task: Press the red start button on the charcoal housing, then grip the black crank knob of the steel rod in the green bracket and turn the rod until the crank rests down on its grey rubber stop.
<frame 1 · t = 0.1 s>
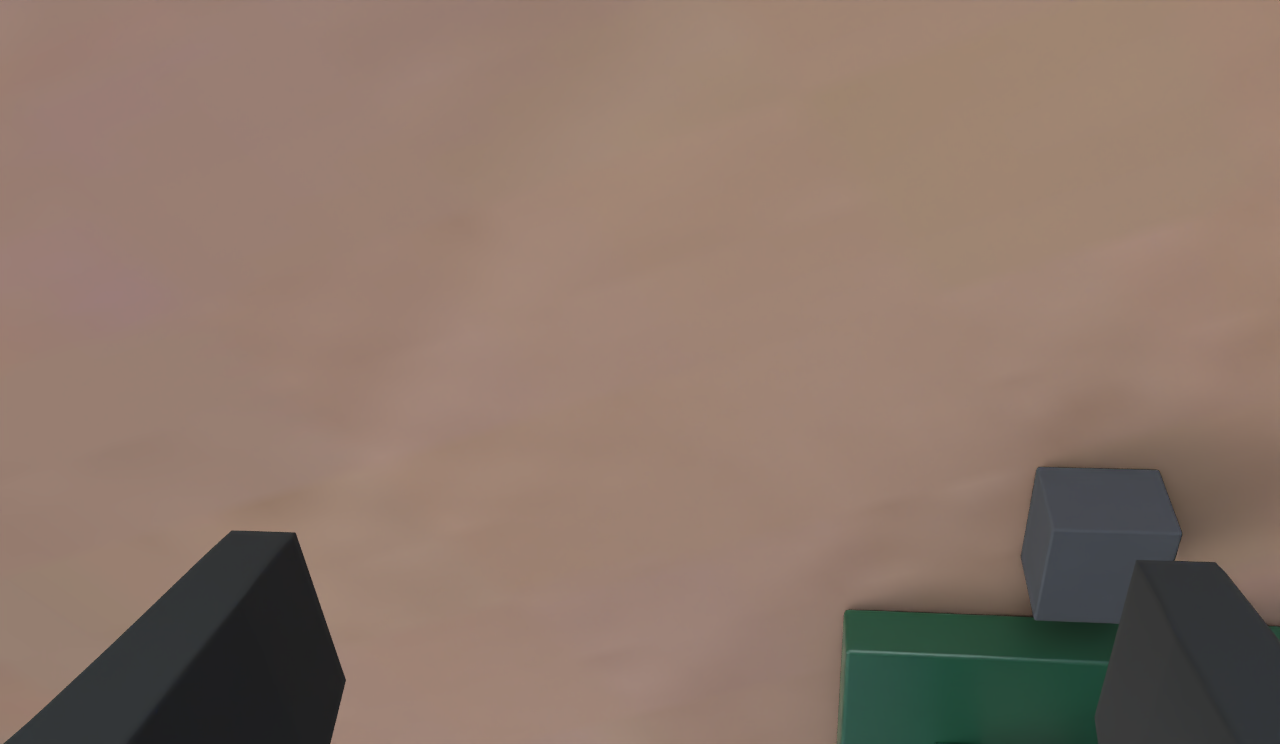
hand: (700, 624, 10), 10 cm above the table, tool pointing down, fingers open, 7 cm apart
crank rest: (1087, 514, 22), on the table
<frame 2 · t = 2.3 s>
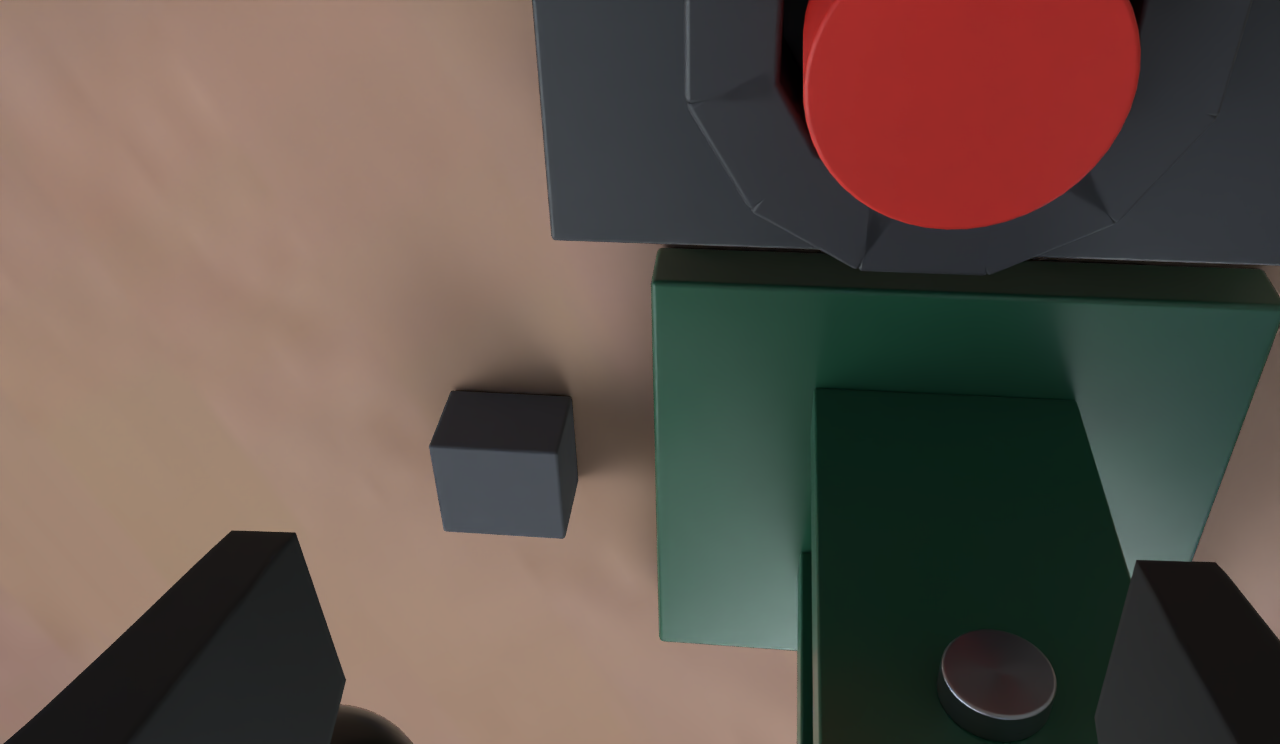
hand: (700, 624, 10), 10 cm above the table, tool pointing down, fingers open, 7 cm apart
crank rest: (516, 436, 23), on the table
rod bracket: (920, 457, 22), on the table
button: (959, 58, 13), point 4 cm above the table, slide at 0.1 cm
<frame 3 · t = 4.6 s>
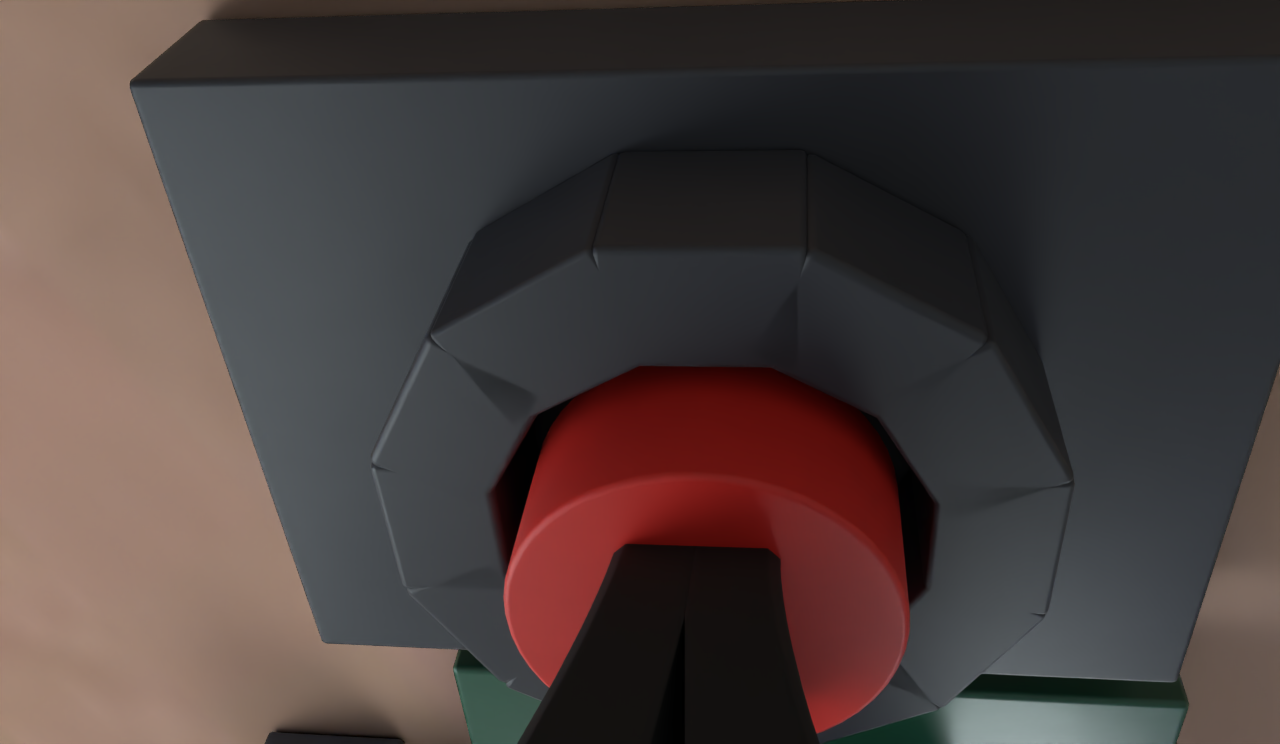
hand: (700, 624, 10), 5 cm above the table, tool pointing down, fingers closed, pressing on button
button: (708, 556, 11), point 4 cm above the table, slide at -0.2 cm, touching gripper
button box: (729, 333, 14), on the table
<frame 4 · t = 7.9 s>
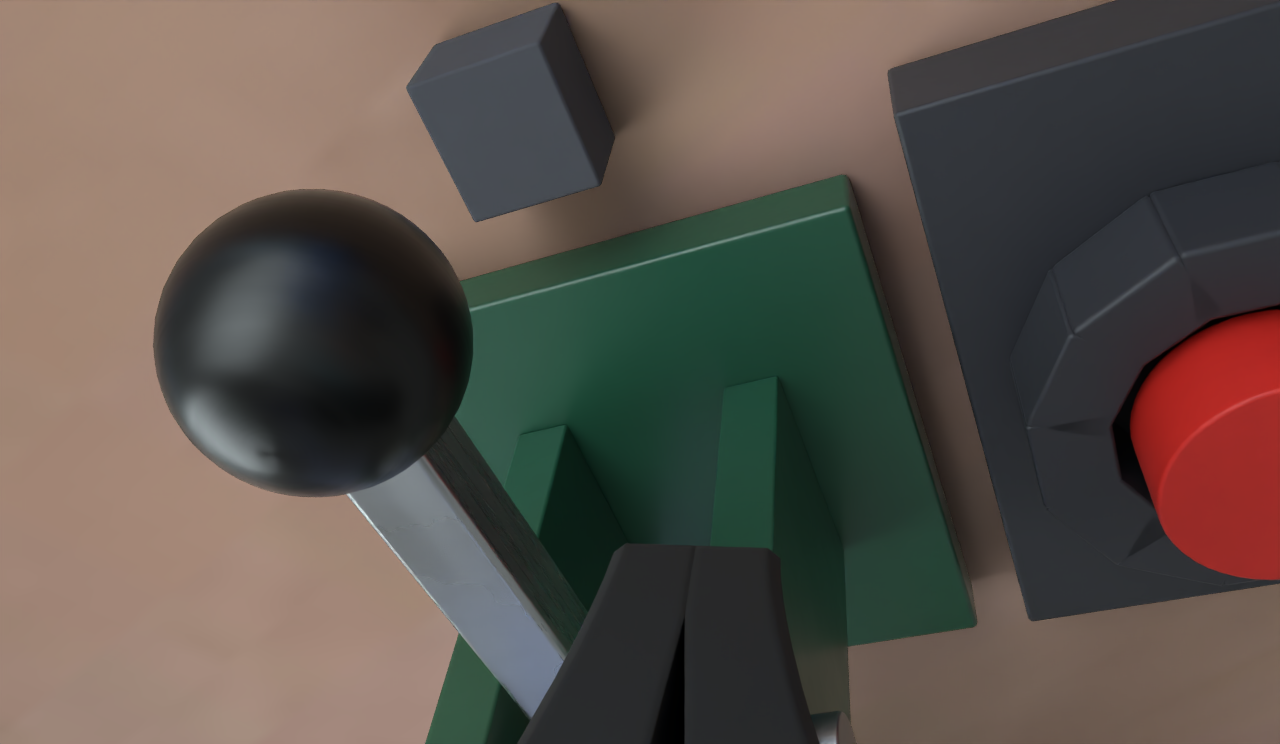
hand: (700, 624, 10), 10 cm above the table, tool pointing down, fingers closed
crank rest: (526, 91, 19), on the table
rod bracket: (689, 451, 23), on the table
button: (1278, 447, 16), point 4 cm above the table, slide at 0.1 cm
button box: (1201, 294, 19), on the table
rod: (514, 606, 14), point 8 cm above the table, hinge at 6.0°
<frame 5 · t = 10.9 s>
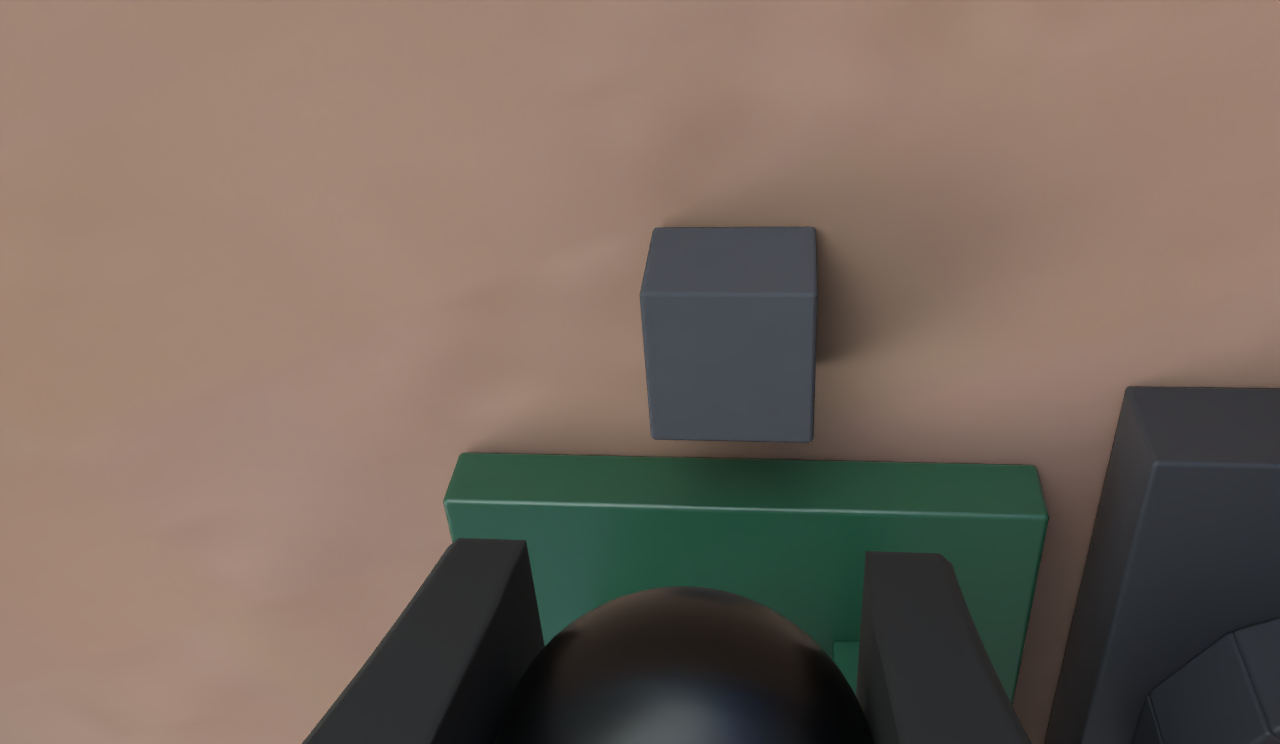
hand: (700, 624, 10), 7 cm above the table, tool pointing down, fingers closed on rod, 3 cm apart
crank rest: (735, 300, 16), on the table
rod bracket: (743, 664, 21), on the table
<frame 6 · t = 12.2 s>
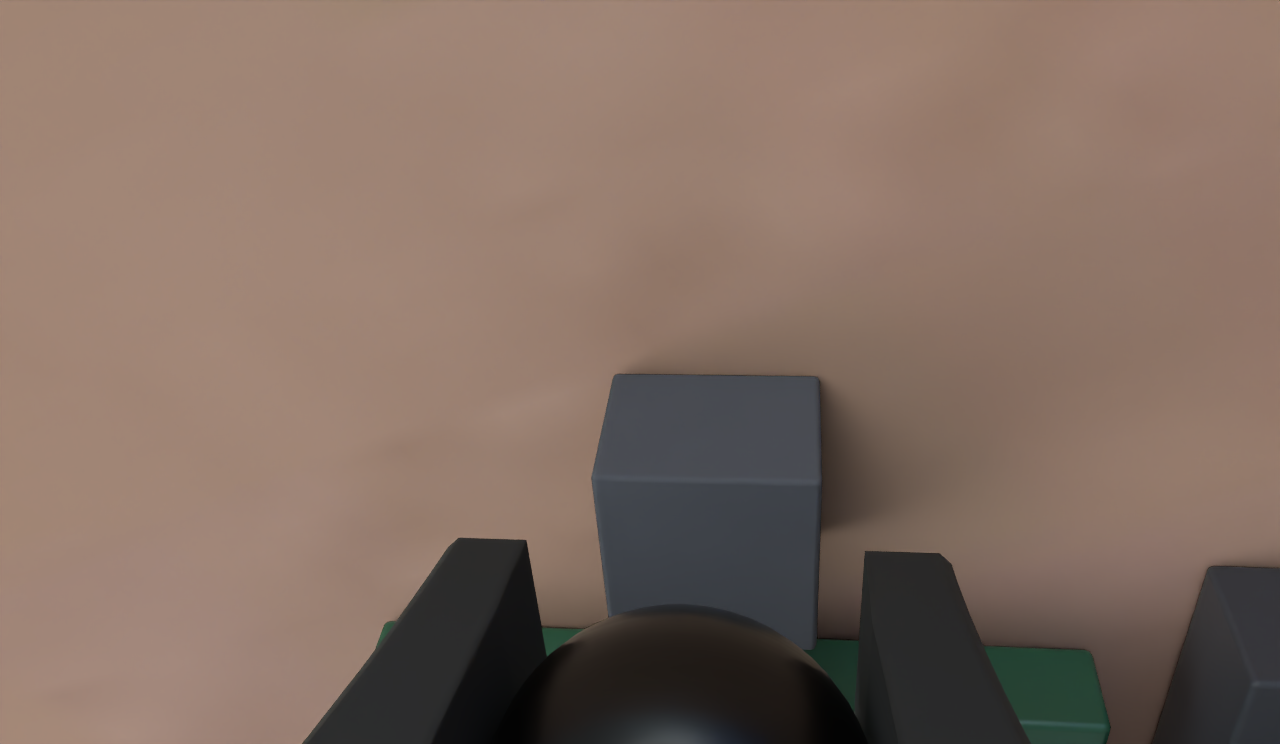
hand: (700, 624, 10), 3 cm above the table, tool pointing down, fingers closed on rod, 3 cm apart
crank rest: (718, 458, 13), on the table
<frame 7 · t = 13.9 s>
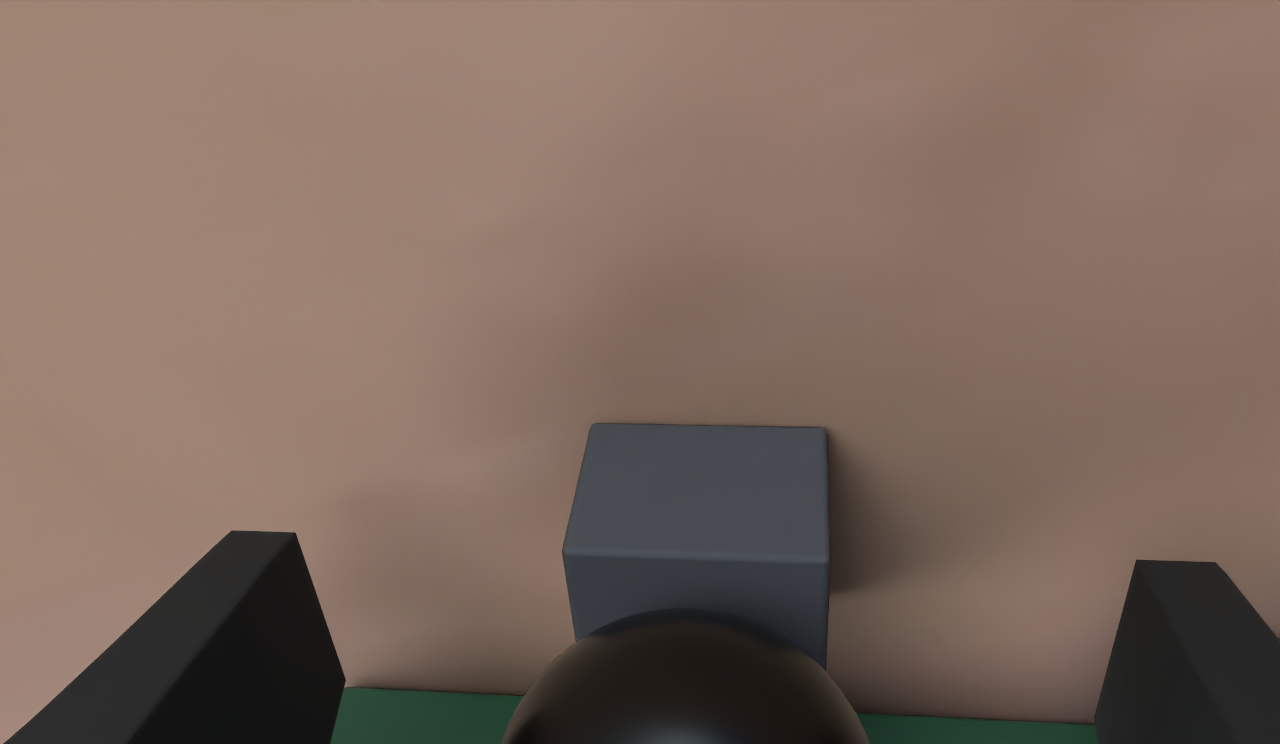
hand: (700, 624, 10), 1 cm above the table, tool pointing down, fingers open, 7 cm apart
crank rest: (711, 516, 11), on the table
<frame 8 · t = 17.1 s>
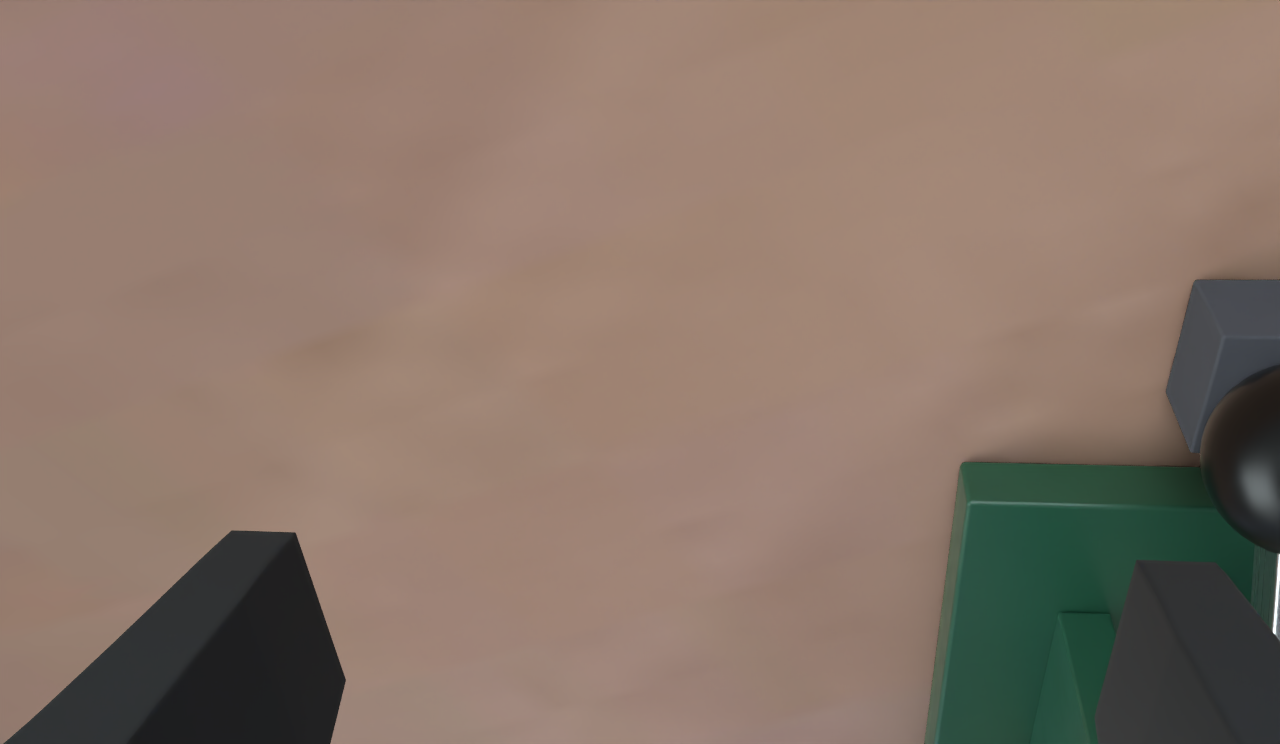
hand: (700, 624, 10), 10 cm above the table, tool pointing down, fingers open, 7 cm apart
crank rest: (1245, 337, 20), on the table
rod bracket: (1154, 642, 24), on the table
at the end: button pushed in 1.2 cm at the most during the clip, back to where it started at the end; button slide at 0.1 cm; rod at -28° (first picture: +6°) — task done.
